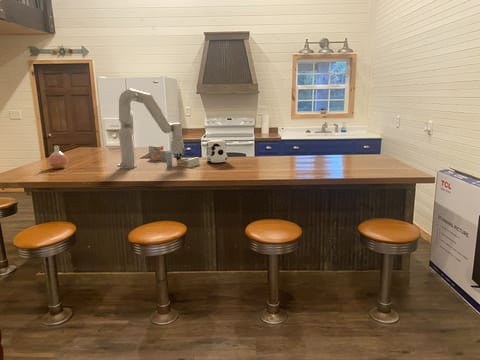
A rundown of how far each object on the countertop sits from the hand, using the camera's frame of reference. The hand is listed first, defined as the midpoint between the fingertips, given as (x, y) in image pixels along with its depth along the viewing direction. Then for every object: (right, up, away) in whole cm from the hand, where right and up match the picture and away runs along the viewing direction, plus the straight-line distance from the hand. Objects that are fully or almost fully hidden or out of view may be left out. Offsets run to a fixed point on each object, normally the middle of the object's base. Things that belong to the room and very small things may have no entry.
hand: (178, 161), depth 281 cm
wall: (+13, -4, -6) cm, 14 cm away
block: (+6, -3, -3) cm, 7 cm away
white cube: (+30, -1, +9) cm, 31 cm away
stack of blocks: (-21, +2, +26) cm, 33 cm away
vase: (-93, -5, -5) cm, 93 cm away
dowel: (-6, -5, -8) cm, 11 cm away
